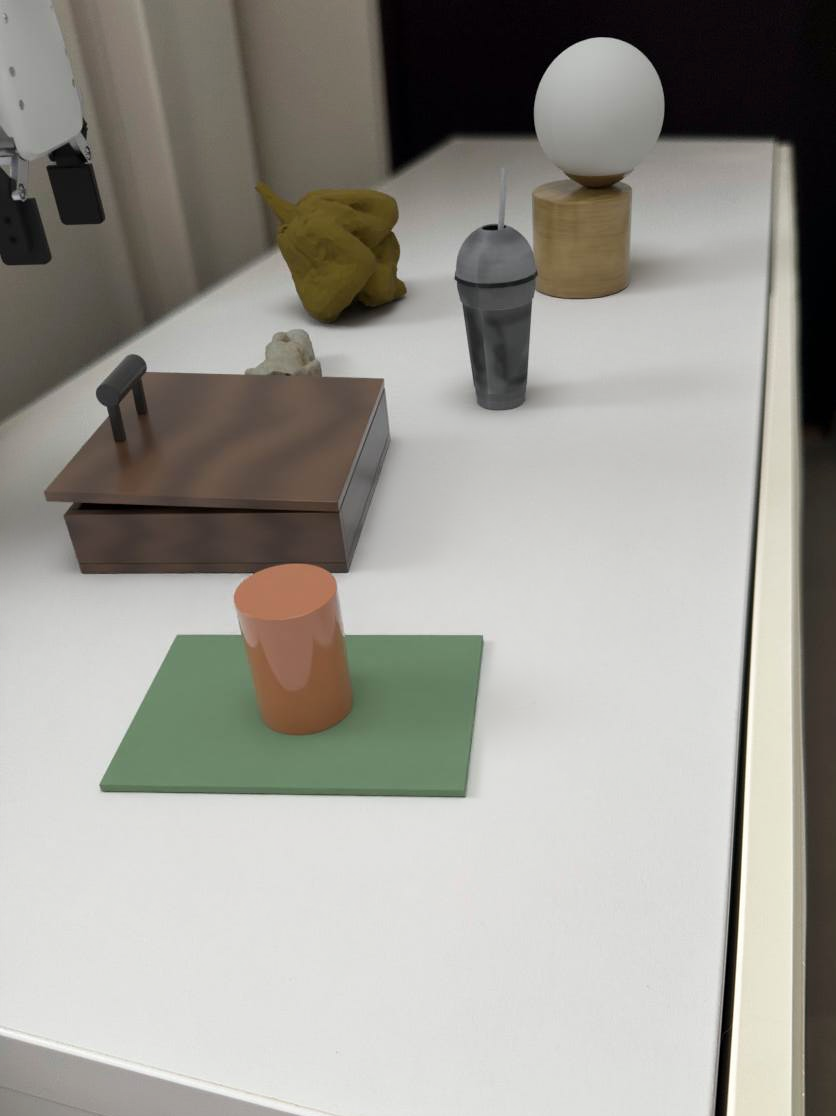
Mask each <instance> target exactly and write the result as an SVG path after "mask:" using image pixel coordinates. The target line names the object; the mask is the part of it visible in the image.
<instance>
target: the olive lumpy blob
mask: <svg viewBox="0 0 836 1116" xmlns="http://www.w3.org/2000/svg"><path fill="white" fill-rule="evenodd" d="M254 190H256V192H257V193H258V194H260V196H261V197H262V198H263V199H264V200H265V202H266V203H267V205H268V206H269V208H270V209H271V211H272V212H273V214H274V215H275V217H276V218H277V220H278V221H279V222H280V224H279V225H278V226H276V227H275V228H276V230H277V233H278V234H277V235H276V236H275V237H276V244H277V246H278V249H279V251H280V254H281V255H282V258H283V260H284V261H285V263H286V265H287V267H288V270H289V272H290V275H291V279H292V281H293V283H294V287H295V291H296V293H297V296H298V298H299V300H300V302H301V304H302V306H303V308H304V310H305V311H306V312H307V313H308V314H309V316H310V317H312V318H313V319H315V320H317V321H319V322H323V323H333V322H334V321H336V320H337V319H338V318H339V316H340V315H341V313H342V311H343V310H344V309H345V308H348V307H349V306H350V305H351V304H352V301H353V300H354V301H355V302H361V303H362V304H363V305H365V307H374V308H375V307H378V306H381V305H385V304H386V303H390V302H392V301H393V300H396V299H399V298H402V297H404V296H406V294H407V289H408V288H407V286H406V284H405V282H404V281H402V280H401V279H400V278H398V270H399V269H398V264H399V261H400V257H401V246H400V245H401V244H400V242H399V240H398V238H397V236H396V234H395V231H392V230H393V229H394V227H395V226H396V225H397V223H398V221H399V219H400V218H399V217H400V212H399V205H398V203H397V200H396V199H395V197H394V196H391V195H389V194H387V193H384V192H382V191H380V190H376V189H375V190H374V189H369V188H362V189H349V188H340V189H339V188H338V189H330V188H322V189H321V188H320V189H315V190H311V191H308V192H307V193H306V194H305V195H304V196H302V197H300V198H299V199H298V200H297V202H296V203H295V204H294V203H292V202H289V201H287V200H286V199H284V198H282V197H280V195H278V194H277V193H275V192H274V191H273V190H272V189H271V188H270V187H269V186H267V184H266V183H265V182H264V181H263V180H261V181H260V182H259V183H258V184H257V185H256V186H255V187H254Z"/></svg>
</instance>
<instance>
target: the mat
mask: <svg viewBox="0 0 836 1116" xmlns="http://www.w3.org/2000/svg"><path fill="white" fill-rule="evenodd" d="M345 640H346V647H347V653H348V660H349V666H350V673H351V679H352V686H353V692H354V704H353V707H352V709H351V711H350V712H349V714H348V715H347V716H346V717H345V718H344V719H343V720H342V721H340V722H339V723H338V724H336V725H334V726H332V727H330V728H328V729H326V730H323V731H320V732H317V733H312V734H306V735H289V734H283V733H280V732H277V731H274V730H272V729H271V728H269V727H268V726H266V725H265V724H264V722H263V721H262V720H261V718H260V715H259V711H258V707H257V702H256V698H255V693H254V689H253V684H252V680H251V675H250V671H249V667H248V662H247V658H246V653H245V649H244V644H243V640H242V635H241V634H176V636H175V638H174V639H173V642H172V643H171V645H170V647H169V649H168V651H167V653H166V655H165V657H164V659H163V661H162V662H161V664H160V667H159V668H158V670H157V672H156V674H155V676H154V678H153V679H152V682H151V684H150V686H149V688H148V690H147V692H146V694H145V695H144V698H143V700H142V701H141V703H140V705H139V707H138V709H137V711H136V713H135V714H134V717H133V719H132V720H131V722H130V724H129V726H128V728H127V730H126V732H125V734H124V736H123V738H122V739H121V742H120V743H119V745H118V747H117V750H116V751H115V753H114V755H113V757H112V759H111V760H110V763H109V765H108V766H107V769H106V770H105V773H104V774H103V776H102V778H101V780H100V782H99V789H100V791H101V792H145V793H147V792H150V793H151V792H153V793H154V792H155V793H156V792H157V793H211V794H212V793H213V794H214V793H215V794H216V793H218V794H275V795H276V794H277V795H279V794H281V795H283V794H285V795H286V794H287V795H340V796H341V795H343V796H344V795H346V796H347V795H349V796H405V797H406V796H407V797H408V796H412V797H413V796H414V797H415V796H416V797H420V796H421V797H466V794H467V793H466V792H467V784H468V775H469V766H470V757H471V751H472V742H473V741H472V740H473V732H474V724H475V717H476V716H475V715H476V706H477V698H478V691H479V690H478V689H479V682H480V673H481V665H482V658H483V657H482V655H483V647H484V635H483V634H345Z"/></svg>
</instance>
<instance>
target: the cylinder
mask: <svg viewBox="0 0 836 1116" xmlns="http://www.w3.org/2000/svg"><path fill="white" fill-rule="evenodd" d="M233 603H234V609H235V613H236V618H237V621H238V626H239V629H240V630H239V631H240V635H242V640H243V644H244V649H245V653H246V658H247V662H248V667H249V671H250V675H251V680H252V684H253V689H254V693H255V698H256V702H257V707H258V711H259V715H260V718H261V720H262V721H263V722H264V724H265V725H266V726H268V727H269V728H271V729H272V730H274V731H277V732H280V733H283V734H289V735H306V734H312V733H317V732H320V731H323V730H326V729H328V728H330V727H332V726H334V725H336V724H338V723H339V722H340V721H342V720H343V719H344V718H345V717H346V716H347V715H348V714H349V712H350V711H351V709H352V707H353V704H354V692H353V686H352V679H351V673H350V666H349V660H348V653H347V647H346V640H345V635H346V634H345V629H344V628H345V627H344V622H343V615H342V608H341V601H340V595H339V589H338V583H337V579H336V578H335V576H334V575H333V574H332V572H328V571H327V570H325V569H323V568H320V567H318V566H314V565H309V564H283V565H278V566H273V567H270V568H266V569H264V570H261V571H259V572H253V574H251V575H250V576H248V577H246V578H245V579H244V580H242V581H241V582H240V584H239V585H238V586H237V587H236V589H235V591H234V594H233Z"/></svg>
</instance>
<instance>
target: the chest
mask: <svg viewBox="0 0 836 1116" xmlns="http://www.w3.org/2000/svg"><path fill="white" fill-rule="evenodd" d="M386 393H387V392H386V387H384V389H383V392H382V395H381V398H380V400H379V403H378V406H377V409H376V411H375V414H374V417H373V419H372V422H371V425H370V428H369V430H368V433H367V436H366V438H365V441H364V444H363V447H362V449H361V452H360V455H359V458H358V460H357V463H356V466H355V468H354V471H353V474H352V477H351V479H350V482H349V485H348V487H347V490H346V493H345V496H344V498H343V501H342V504H341V507H340V509H339V511H338V512H331V511H303V510H275V509H246V508H218V507H190V506H161V505H133V504H105V503H76V502H72V503H71V504H70V506H69V507H68V509H67V510H66V511H65V512H64V514H63V520H64V522H65V526H66V528H67V532H68V534H69V539H70V541H71V544H72V547H73V550H74V553H75V557H76V559H77V560H76V561H77V562H78V566H79V570H80V572H81V574H170V573H171V574H173V573H174V574H183V573H185V574H187V573H190V574H193V573H194V574H196V573H202V574H203V573H204V574H205V573H206V574H207V573H208V574H209V573H211V574H214V573H217V574H218V573H220V574H222V573H224V574H225V573H227V574H228V573H231V574H232V573H257V572H259V571H261V570H264V569H266V568H270V567H273V566H278V565H283V564H309V565H314V566H318V567H320V568H323V569H325V570H327V571H328V572H330V573H348V572H349V569H350V566H351V564H352V560H353V557H354V554H355V551H356V548H357V545H358V542H359V539H360V535H361V532H362V530H363V526H364V524H365V519H366V517H367V514H368V510H369V507H370V504H371V501H372V498H373V495H374V493H375V489H376V486H377V482H378V479H379V477H380V473H381V471H382V467H383V464H384V461H385V459H386V454H387V451H388V449H389V445H390V443H391V432H390V431H391V430H390V422H389V421H390V420H389V411H388V404H387V402H388V401H387V394H386Z"/></svg>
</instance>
